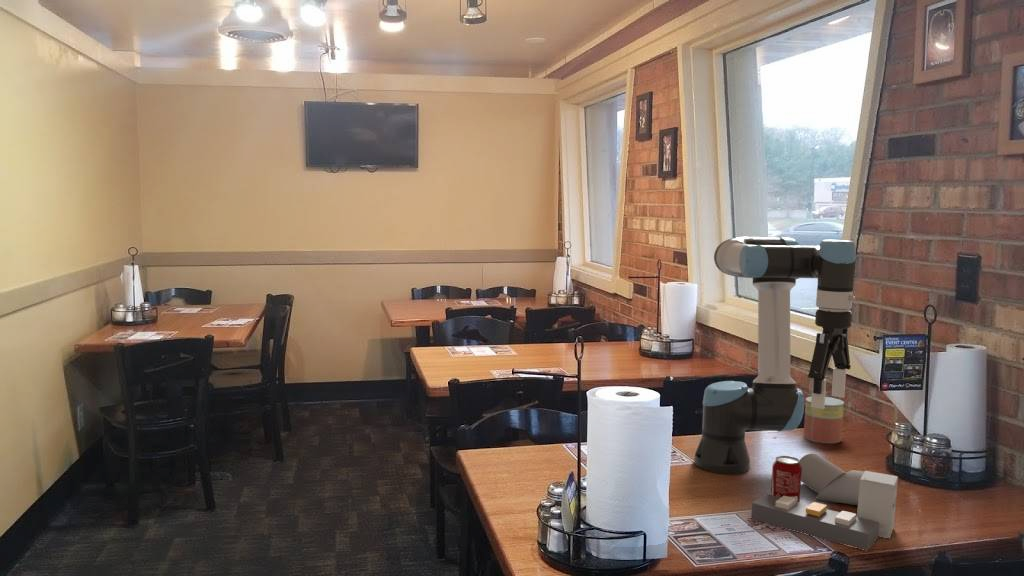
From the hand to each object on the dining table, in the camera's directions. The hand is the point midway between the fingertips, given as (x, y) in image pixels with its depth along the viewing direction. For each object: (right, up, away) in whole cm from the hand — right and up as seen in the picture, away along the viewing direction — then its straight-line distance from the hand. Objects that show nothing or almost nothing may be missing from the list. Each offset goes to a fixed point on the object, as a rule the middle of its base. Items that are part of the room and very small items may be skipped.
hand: (828, 402), depth 184 cm
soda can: (-5, -28, +15) cm, 32 cm away
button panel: (-3, -29, +2) cm, 29 cm away
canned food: (+26, -22, +72) cm, 80 cm away
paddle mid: (-2, -25, +1) cm, 26 cm away
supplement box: (+11, -30, +2) cm, 32 cm away
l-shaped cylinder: (+11, -27, +23) cm, 37 cm away
